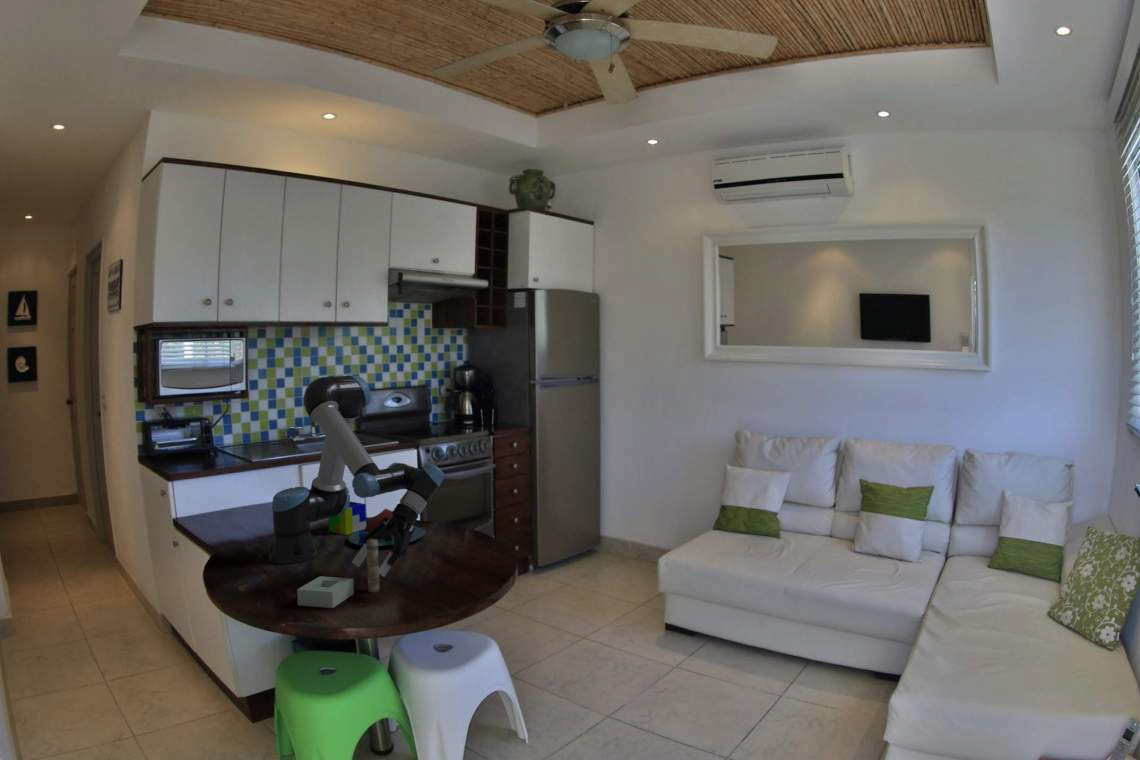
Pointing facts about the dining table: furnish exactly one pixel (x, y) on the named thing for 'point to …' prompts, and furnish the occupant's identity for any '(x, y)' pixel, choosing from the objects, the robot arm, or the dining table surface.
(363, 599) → the dining table surface
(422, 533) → the red and teal hat
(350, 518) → the puzzle toy
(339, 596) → the grey square-hole block
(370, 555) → the tan cylinder
